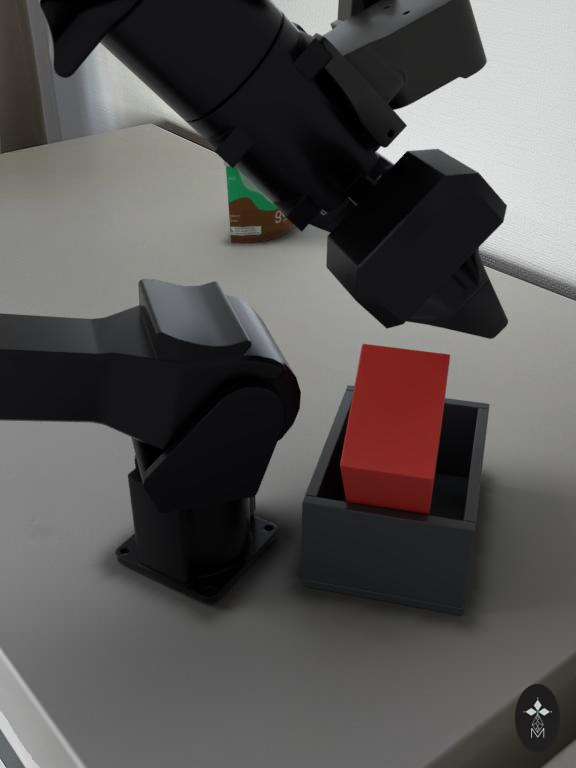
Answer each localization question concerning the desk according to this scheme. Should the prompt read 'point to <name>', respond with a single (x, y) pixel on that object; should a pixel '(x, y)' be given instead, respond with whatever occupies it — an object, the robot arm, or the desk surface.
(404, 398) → the block
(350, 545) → the bin
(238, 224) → the food container
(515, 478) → the desk surface
